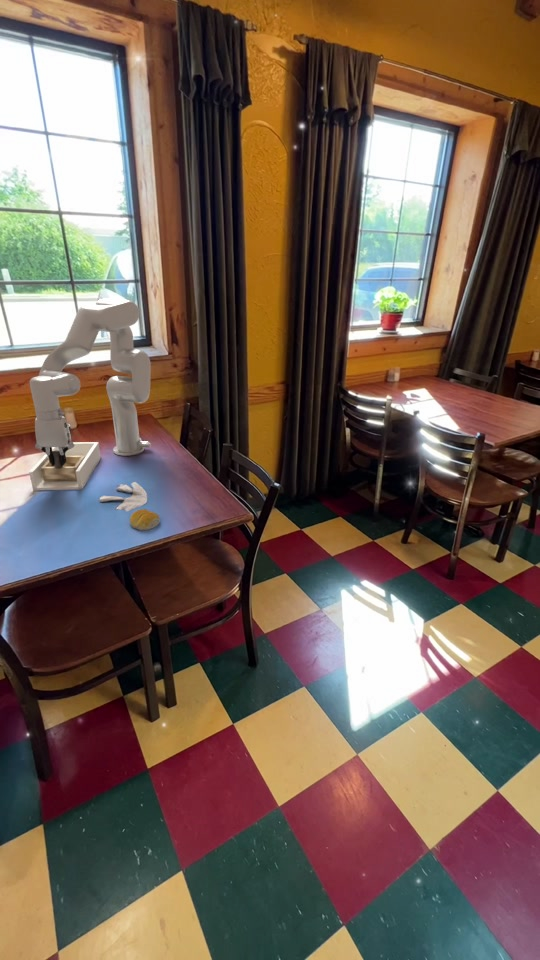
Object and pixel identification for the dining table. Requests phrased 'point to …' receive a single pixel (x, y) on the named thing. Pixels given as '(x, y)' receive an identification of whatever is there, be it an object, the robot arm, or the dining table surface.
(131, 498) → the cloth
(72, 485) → the bay
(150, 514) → the bread roll
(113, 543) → the dining table surface
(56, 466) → the box
